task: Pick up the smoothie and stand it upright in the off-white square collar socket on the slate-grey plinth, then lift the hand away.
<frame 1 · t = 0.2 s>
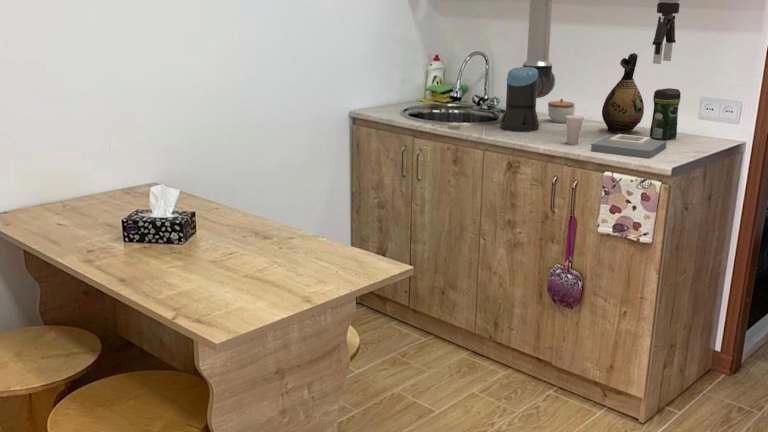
hand: (661, 62, 281), 28 cm above the table, fingers open, 13 cm apart
lidded jar: (560, 122, 321), on the table
coffee jar: (662, 138, 288), on the table
plinth: (628, 149, 268), on the table
smoothie: (572, 143, 278), on the table
ceramic jug: (621, 131, 301), on the table
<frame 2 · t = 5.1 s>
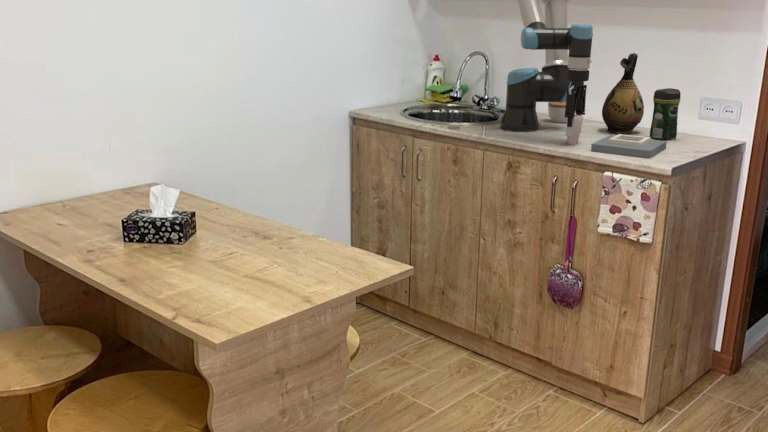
hand: (573, 134, 277), 3 cm above the table, fingers closed on smoothie, 6 cm apart
smoothie: (572, 143, 278), on the table, touching gripper
everything else where it was.
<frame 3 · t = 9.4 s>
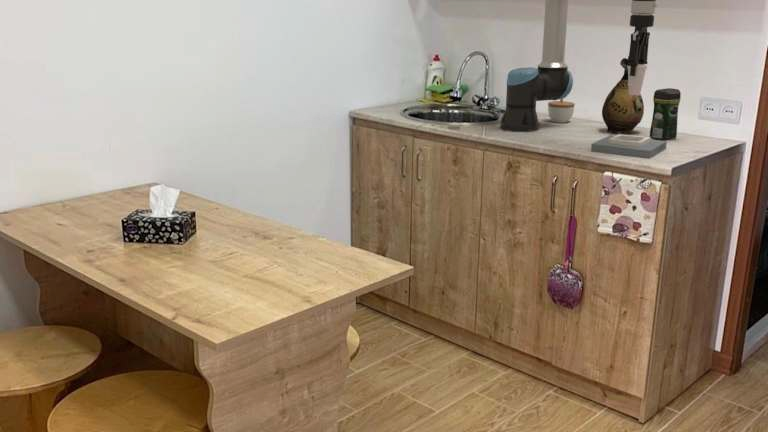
hand: (635, 84, 261), 23 cm above the table, fingers closed on smoothie, 6 cm apart
smoothie: (634, 94, 262), point 19 cm above the table, touching gripper
everything else where it was.
when the fingers open (7 cm above the table, at t = 13.7 s): smoothie stays where it is, resting on plinth.
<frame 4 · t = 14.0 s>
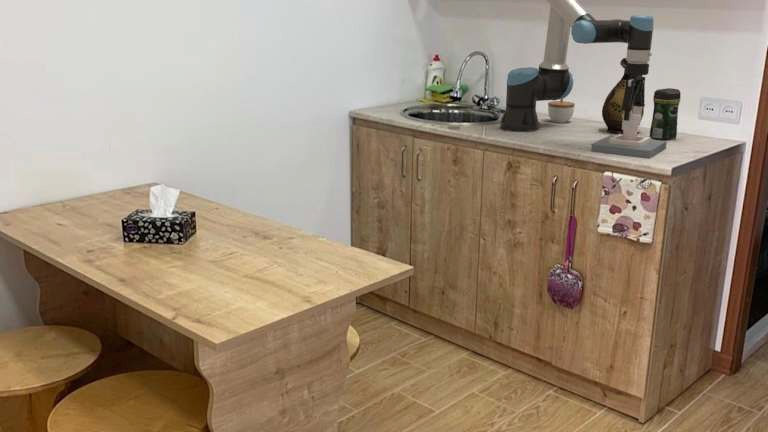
hand: (631, 127, 265), 8 cm above the table, fingers open, 10 cm apart
smoothie: (629, 143, 267), point 2 cm above the table, touching plinth
everything else where it was.
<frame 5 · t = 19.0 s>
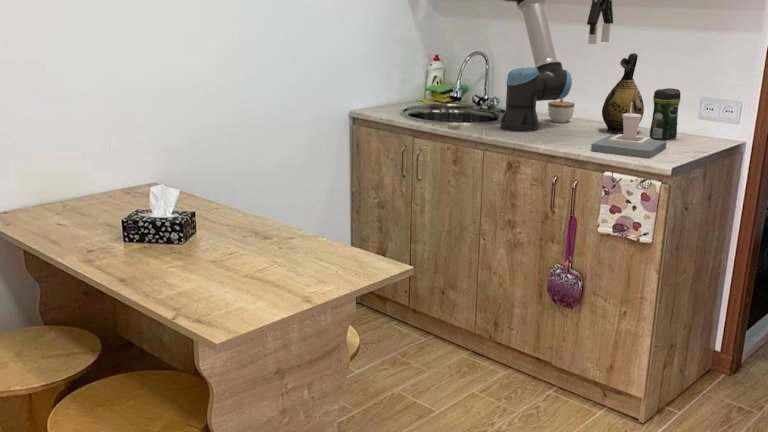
hand: (598, 43, 277), 35 cm above the table, fingers open, 13 cm apart
nothing on the table moved.
at the end: smoothie 0.1 cm off-centre on the plinth, point 2.3 cm above the plinth's base; smoothie tilted 0°; the gripper is holding nothing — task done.
